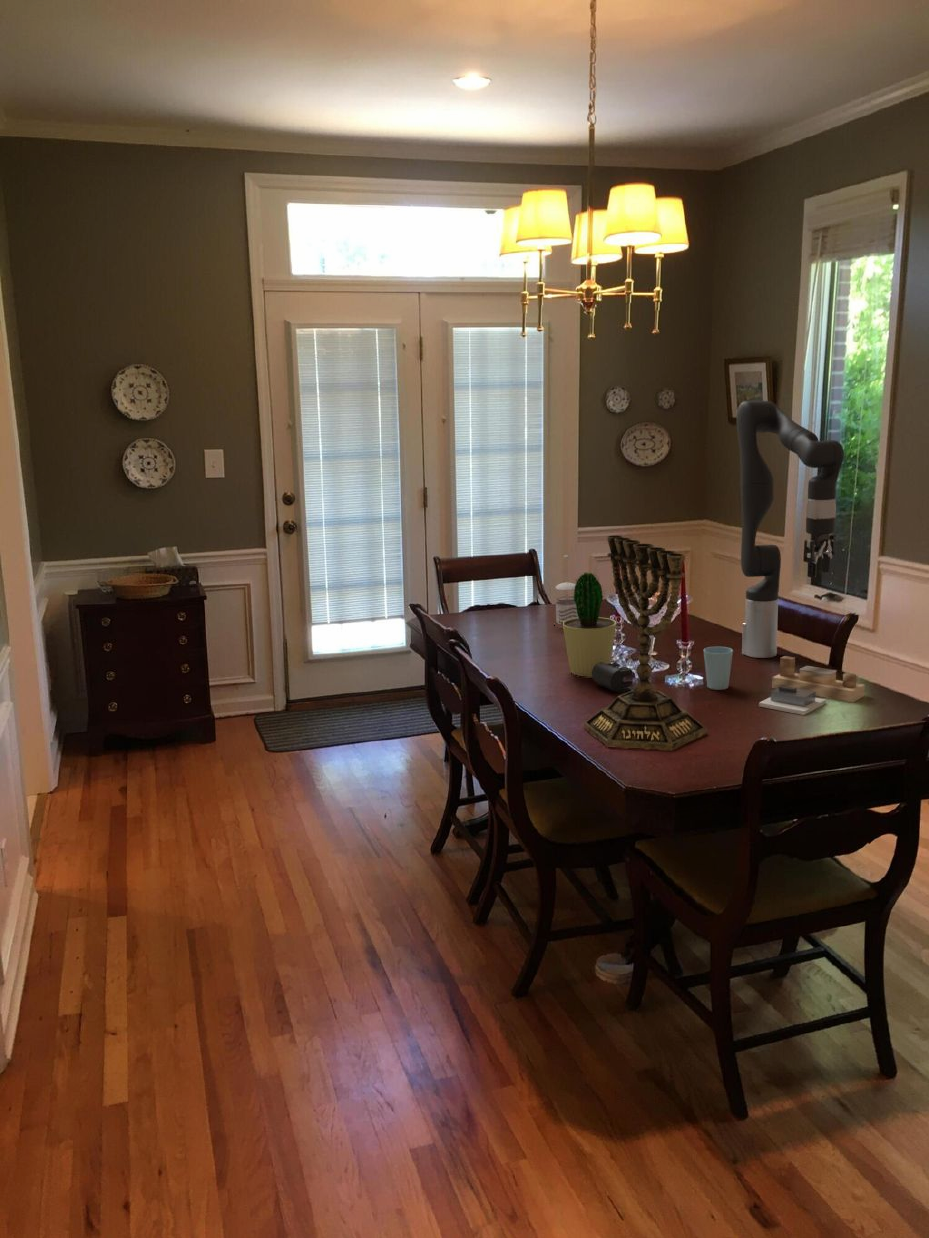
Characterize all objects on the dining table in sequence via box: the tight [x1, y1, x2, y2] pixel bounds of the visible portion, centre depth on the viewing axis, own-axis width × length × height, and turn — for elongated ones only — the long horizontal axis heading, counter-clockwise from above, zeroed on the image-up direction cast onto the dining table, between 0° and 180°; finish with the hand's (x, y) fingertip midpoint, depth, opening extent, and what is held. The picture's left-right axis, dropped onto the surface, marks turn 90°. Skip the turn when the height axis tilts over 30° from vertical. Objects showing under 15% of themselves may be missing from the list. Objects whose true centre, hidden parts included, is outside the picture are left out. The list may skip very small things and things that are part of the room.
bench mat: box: [758, 696, 827, 716], centre depth 255 cm, size 12×12×1 cm
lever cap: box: [770, 685, 816, 707], centre depth 254 cm, size 9×6×3 cm, turn 46°
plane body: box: [771, 655, 866, 703], centre depth 264 cm, size 22×7×8 cm, turn 46°
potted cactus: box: [563, 572, 617, 678], centre depth 289 cm, size 15×15×30 cm
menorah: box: [583, 534, 708, 751], centre depth 235 cm, size 36×25×45 cm
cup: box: [703, 646, 734, 691], centre depth 271 cm, size 8×8×10 cm
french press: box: [554, 554, 579, 624], centre depth 349 cm, size 10×12×25 cm
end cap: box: [591, 662, 633, 694], centre depth 274 cm, size 10×7×7 cm
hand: (818, 574), depth 275 cm, fingers open, 8 cm apart
